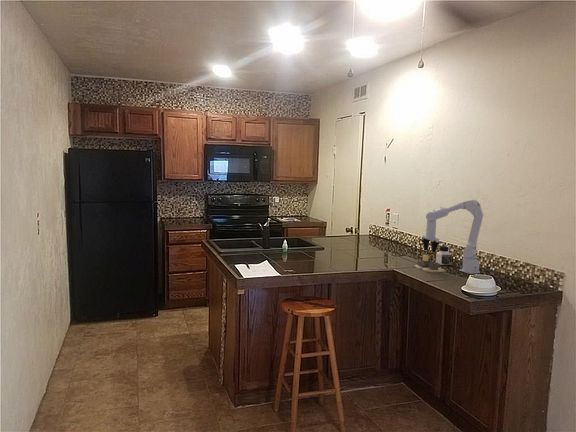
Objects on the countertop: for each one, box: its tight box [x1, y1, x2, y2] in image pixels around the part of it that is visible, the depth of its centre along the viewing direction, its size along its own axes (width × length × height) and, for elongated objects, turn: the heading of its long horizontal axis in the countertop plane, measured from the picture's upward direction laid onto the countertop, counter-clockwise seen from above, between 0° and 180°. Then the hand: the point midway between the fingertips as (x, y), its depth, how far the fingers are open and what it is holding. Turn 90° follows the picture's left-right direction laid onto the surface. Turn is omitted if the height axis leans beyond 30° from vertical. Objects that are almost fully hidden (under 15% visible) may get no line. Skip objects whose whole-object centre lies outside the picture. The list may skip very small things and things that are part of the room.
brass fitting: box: [422, 254, 430, 263], centre depth 281 cm, size 4×4×7 cm
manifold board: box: [412, 259, 446, 274], centre depth 277 cm, size 17×11×4 cm, turn 20°
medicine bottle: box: [435, 245, 452, 266], centre depth 294 cm, size 7×7×12 cm
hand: (429, 251), depth 286 cm, fingers open, 7 cm apart
